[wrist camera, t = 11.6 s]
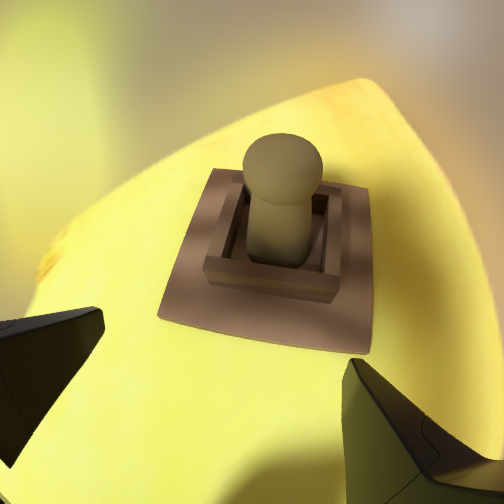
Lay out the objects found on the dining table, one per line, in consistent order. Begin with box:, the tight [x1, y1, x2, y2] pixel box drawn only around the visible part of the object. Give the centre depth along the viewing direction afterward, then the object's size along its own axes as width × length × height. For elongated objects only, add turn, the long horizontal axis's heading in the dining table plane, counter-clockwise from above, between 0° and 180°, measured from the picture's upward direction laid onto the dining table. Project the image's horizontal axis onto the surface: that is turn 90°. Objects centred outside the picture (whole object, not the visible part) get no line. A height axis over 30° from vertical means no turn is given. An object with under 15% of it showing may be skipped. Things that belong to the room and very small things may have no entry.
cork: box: [243, 133, 323, 269], centre depth 20 cm, size 6×6×11 cm
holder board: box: [157, 168, 373, 355], centre depth 24 cm, size 18×18×4 cm
